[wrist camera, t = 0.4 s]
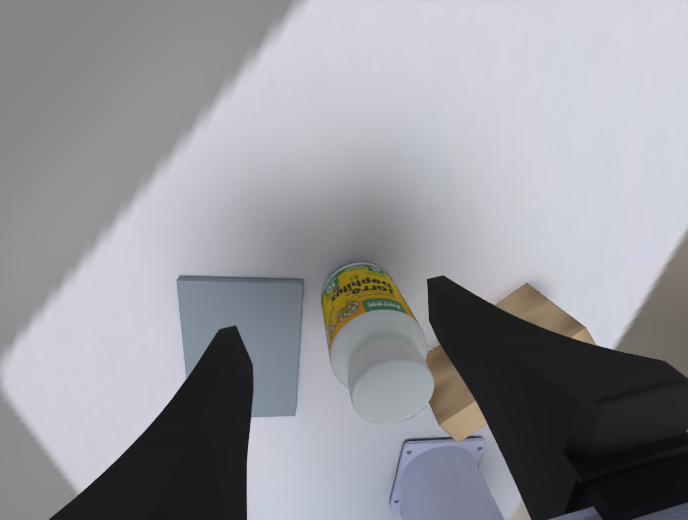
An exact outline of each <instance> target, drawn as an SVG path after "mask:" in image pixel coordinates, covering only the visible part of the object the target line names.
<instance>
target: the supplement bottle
mask: <svg viewBox="0 0 688 520" xmlns="http://www.w3.org/2000/svg"><path fill="white" fill-rule="evenodd" d="M321 304H322V311H323V317H324V323H325V330H326V337H327V344H328V350H329V356H330V362H331V366H332V369H333V372H334V374H335V376H336V377H337V379H338V380H339V381H340V382H341V383H342V384H343V385H344V386H345V387H346V388H348V389H349V392H350V396H351V401H352V404H353V407H354V409H355V410H356V412H357V413H358V414H359V415H360V416H361V417H363V418H364V419H366V420H368V421H370V422H373V423H378V424H392V423H398V422H401V421H404V420H407V419H409V418H411V417H413V416H414V415H416V414H417V413H419V412H420V411H421V410H422V409H423V408H424V407H425V406H426V405H427V403H428V402H429V401H430V399H431V397H432V394H433V391H434V380H433V376H432V374H431V372H430V369H429V367H428V365H427V363H426V356H427V341H426V338H425V335H424V332H423V330H422V328H421V327H420V325H419V323H418V322H417V320H416V318H415V317H414V315H413V313H412V312H411V310H410V308H409V306H408V305H407V303H406V301H405V300H404V298H403V296H402V295H401V293H400V291H399V289H398V288H397V286H396V285H395V283H394V281H393V280H392V278H391V277H390V275H389V274H388V273H387V272H386V271H385V270H383V269H382V268H380V267H379V266H376V265H374V264H371V263H367V262H357V263H352V264H348V265H346V266H344V267H341V268H340V269H338V270H337V271H336V272H335V273H333V275H332V276H331V277H330V278H329V279H328V281H327V282H326V284H325V285H324V288H323V290H322V295H321Z"/></svg>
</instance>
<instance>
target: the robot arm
mask: <svg viewBox="0 0 688 520" xmlns="http://www.w3.org/2000/svg"><path fill="white" fill-rule="evenodd" d="M427 285H428V309H429V322H430V324H431V326H432V328H433V330H434V333H435V335H436V337H437V339H438V341H439V343H440V345H441V346H442V348H443V350H444V351H445V353H446V354H447V356H448V358H449V359H450V361H451V362H452V364H453V365H454V367H455V369H456V370H457V372H458V373H459V375H460V376H461V378H462V380H463V381H464V383H465V384H466V386H467V387H468V389H469V390H470V392H471V394H472V395H473V397H474V399H475V401H476V402H477V404H478V406H479V408H480V410H481V412H482V414H483V416H484V418H485V420H486V422H487V424H488V426H489V428H490V430H491V432H492V434H493V436H494V438H495V440H496V442H497V444H498V447H499V449H500V451H501V453H502V455H503V457H504V459H505V461H506V464H507V466H508V468H509V470H510V472H511V474H512V477H513V479H514V481H515V483H516V485H517V488H518V490H519V492H520V495H521V497H522V499H523V501H524V504H525V506H526V508H527V510H528V513H529V515H530V517H531V520H688V433H687V432H686V431H687V430H688V378H687V377H685V376H684V375H683V374H681V373H680V372H679V371H677V370H676V369H675V368H674V367H672V366H671V365H669V364H668V363H667V362H665V361H662V360H657V359H652V358H648V357H643V356H638V355H633V354H629V353H624V352H620V351H616V350H612V349H608V348H604V347H600V346H597V345H593V344H590V343H586V342H583V341H579V340H576V339H573V338H570V337H567V336H564V335H561V334H558V333H555V332H553V331H550V330H547V329H545V328H542V327H540V326H537V325H535V324H533V323H530V322H528V321H525V320H523V319H521V318H519V317H516V316H514V315H512V314H510V313H508V312H506V311H504V310H502V309H500V308H498V307H496V306H494V305H493V304H491V303H489V302H487V301H485V300H483V299H482V298H480V297H478V296H476V295H475V294H473V293H471V292H470V291H468V290H466V289H465V288H463V287H461V286H460V285H458V284H456V283H455V282H453V281H451V280H450V279H448V278H446V277H445V276H439V277H434V278H430V279H427ZM253 392H254V383H253V363H252V361H251V359H250V357H249V354H248V352H247V350H246V347H245V345H244V343H243V340H242V338H241V336H240V333H239V331H238V329H237V326H236V325H234V326H230V327H226V328H222V329H219V330H218V332H217V333H216V335H215V336H214V338H213V339H212V341H211V342H210V344H209V346H208V347H207V349H206V350H205V352H204V353H203V355H202V357H201V358H200V360H199V361H198V363H197V364H196V366H195V367H194V369H193V370H192V372H191V373H190V375H189V376H188V378H187V379H186V380H185V382H184V383H183V385H182V386H181V387H180V389H179V390H178V391H177V393H176V394H175V395H174V397H173V398H172V400H171V401H170V402H169V403H168V405H167V406H166V407H165V408H164V410H163V411H162V412H161V413H160V414H159V416H158V417H157V418H156V419H155V420H154V421H153V423H152V424H151V425H150V426H149V427H148V428H147V429H146V430H145V432H144V433H143V434H142V435H141V436H140V437H139V438H138V439H137V440H136V441H135V442H134V443H133V444H132V445H131V446H130V447H129V448H128V449H127V450H126V451H125V452H124V453H123V454H122V455H121V456H120V457H119V458H118V459H117V460H116V461H115V462H114V463H113V464H112V465H111V466H110V467H109V468H108V469H107V470H106V471H105V472H104V473H103V474H102V475H101V476H99V477H98V478H97V479H96V480H95V481H94V482H93V483H92V484H91V485H89V486H88V487H87V488H86V489H85V490H84V491H83V492H81V493H80V494H79V495H78V496H77V497H76V498H75V499H73V500H72V501H71V502H70V503H68V504H67V505H66V506H65V507H64V508H62V509H61V510H60V511H59V512H58V513H56V514H55V515H54V516H53V517H51V518H50V519H49V520H247V452H248V442H249V432H250V423H251V413H252V403H253ZM485 445H486V442H485V440H484V439H483V438H468V439H463V440H462V441H460V442H459V443H458V442H456V441H455V440H454V439H446V440H425V441H408V442H406V443H405V444H404V446H403V450H402V454H401V458H400V462H399V467H398V471H397V475H396V479H395V484H394V488H393V492H392V496H391V501H390V509H391V510H392V511H399V510H400V512H401V516H402V520H504V518H503V516H502V514H501V512H500V510H499V508H498V506H497V504H496V502H495V500H494V498H493V496H492V494H491V492H490V490H489V488H488V486H487V484H486V482H485V480H484V479H483V477H482V475H481V473H480V471H479V469H478V464H479V461H480V459H481V456H482V453H483V450H484V448H485Z"/></svg>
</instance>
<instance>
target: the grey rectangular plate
mask: <svg viewBox="0 0 688 520" xmlns="http://www.w3.org/2000/svg"><path fill="white" fill-rule="evenodd" d="M176 281H177V290H178V300H179V310H180V320H181V329H182V339H183V349H184V359H185V368H186V378H188V376H189V375H190V373H191V372H192V370H193V369H194V367H195V366H196V364H197V363H198V361H199V360H200V358H201V357H202V355H203V353H204V352H205V350H206V349H207V347H208V346H209V344H210V342H211V341H212V339H213V338H214V336H215V335H216V333H217V332H218V330H219V329H222V328H226V327H230V326H234V325H236V326H237V329H238V331H239V333H240V336H241V338H242V340H243V343H244V345H245V347H246V350H247V352H248V354H249V357H250V359H251V361H252V363H253V383H254V392H253V403H252V413H251V417H274V416H295V413H296V396H297V379H298V362H299V345H300V328H301V311H302V294H303V280H291V279H257V278H223V277H189V276H179V277H178V279H177V280H176Z"/></svg>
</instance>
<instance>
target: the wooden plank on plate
mask: <svg viewBox="0 0 688 520" xmlns="http://www.w3.org/2000/svg"><path fill="white" fill-rule="evenodd" d="M495 306H496V307H498V308H500V309H502V310H504V311H506V312H508V313H510V314H512V315H514V316H516V317H519V318H521V319H523V320H525V321H528V322H530V323H533V324H535V325H537V326H540V327H542V328H545V329H547V330H550V331H553V332H555V333H558V334H561V335H564V336H567V337H570V338H573V339H576V340H579V341H583V342H586V343H590V344H593V345H596V344H595V342H594V340H593V339H592V337H591V335H590V334H589V332H588V330H587V329H586V327H585V326H583V325H582V324H581V323H579V322H578V321H577V320H575V319H574V318H573V317H571V316H570V315H569V314H567V313H566V312H565V311H563V310H562V309H561V308H559V307H558V306H557V305H555V304H554V303H553V302H551V301H550V300H549V299H547V298H546V297H545V296H543V295H542V294H541V293H539V292H538V291H537V290H535V289H534V288H533V287H531V286H530V285H529V284H527V283H526V284H525V285H523V286H522V287H520V288H519V289H518V290H516V291H515V292H513V293H512V294H511V295H509V296H508V297H506V298H505V299H504V300H502V301H501V302H499V303H498V304H497V305H495ZM426 363H427V365H428V367H429V369H430V372H431V374H432V376H433V380H434V391H433V394H432V397H431V399H430V401H429V404H430V406H431V408H432V411H433V413H434V415H435V417H436V419H437V422H438V424H439V426H440V427H442V428H443V429H444V430H445V431H446V432H447V433H448V434H449V435H450V436H451V437H452V438H453V439H454V440H455V441H456V442H458V443H459V442H460V441H462V440H463V439H465V438H466V437H468V436H470V435H471V434H473V433H474V432H476V431H477V430H479V429H480V428H482V427H483V426H485V425H486V424H487V422H486V420H485V418H484V416H483V414H482V412H481V410H480V408H479V406H478V404H477V402H476V401H475V399H474V397H473V395H472V394H471V392H470V390H469V389H468V387H467V386H466V384H465V383H464V381H463V380H462V378H461V376H460V375H459V373H458V372H457V370H456V369H455V367H454V365H453V364H452V362H451V361H450V359H449V358H448V356H447V354H446V353H445V351H444V350H443V348H442V346H441V345H439V346H438V347H436V348H435V349H433V350H432V351H431V352H429V353H428V354H427V356H426Z"/></svg>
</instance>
